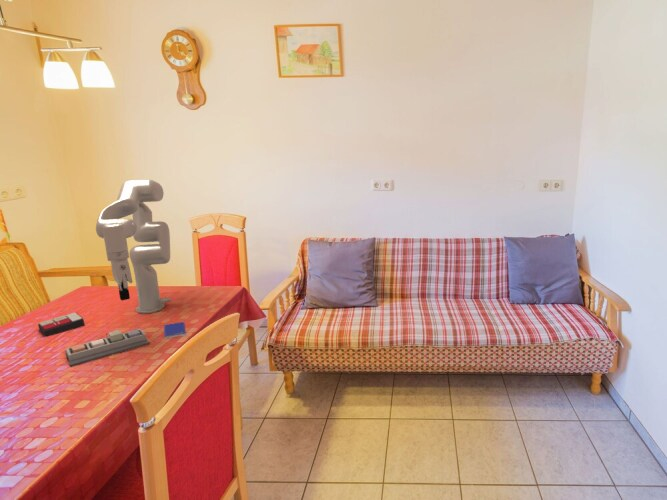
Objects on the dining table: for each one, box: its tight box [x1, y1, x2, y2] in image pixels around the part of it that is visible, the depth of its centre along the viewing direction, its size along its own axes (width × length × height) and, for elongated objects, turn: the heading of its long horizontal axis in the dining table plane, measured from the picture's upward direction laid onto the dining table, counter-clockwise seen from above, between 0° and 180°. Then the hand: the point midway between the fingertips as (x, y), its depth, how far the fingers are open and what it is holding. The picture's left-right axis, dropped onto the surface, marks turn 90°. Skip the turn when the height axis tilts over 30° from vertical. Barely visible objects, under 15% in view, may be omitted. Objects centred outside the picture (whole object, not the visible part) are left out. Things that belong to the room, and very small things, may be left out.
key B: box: [70, 343, 86, 353], centre depth 161 cm, size 4×4×2 cm
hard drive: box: [163, 321, 187, 340], centre depth 181 cm, size 2×8×12 cm
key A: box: [108, 329, 123, 342], centre depth 168 cm, size 4×4×2 cm
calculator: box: [37, 312, 86, 337], centre depth 187 cm, size 11×4×15 cm
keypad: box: [64, 328, 150, 367], centre depth 167 cm, size 27×14×3 cm, turn 128°
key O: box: [90, 338, 105, 348], centre depth 165 cm, size 4×4×2 cm
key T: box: [127, 328, 140, 338], centre depth 172 cm, size 4×4×2 cm
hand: (125, 299), depth 170 cm, fingers closed
